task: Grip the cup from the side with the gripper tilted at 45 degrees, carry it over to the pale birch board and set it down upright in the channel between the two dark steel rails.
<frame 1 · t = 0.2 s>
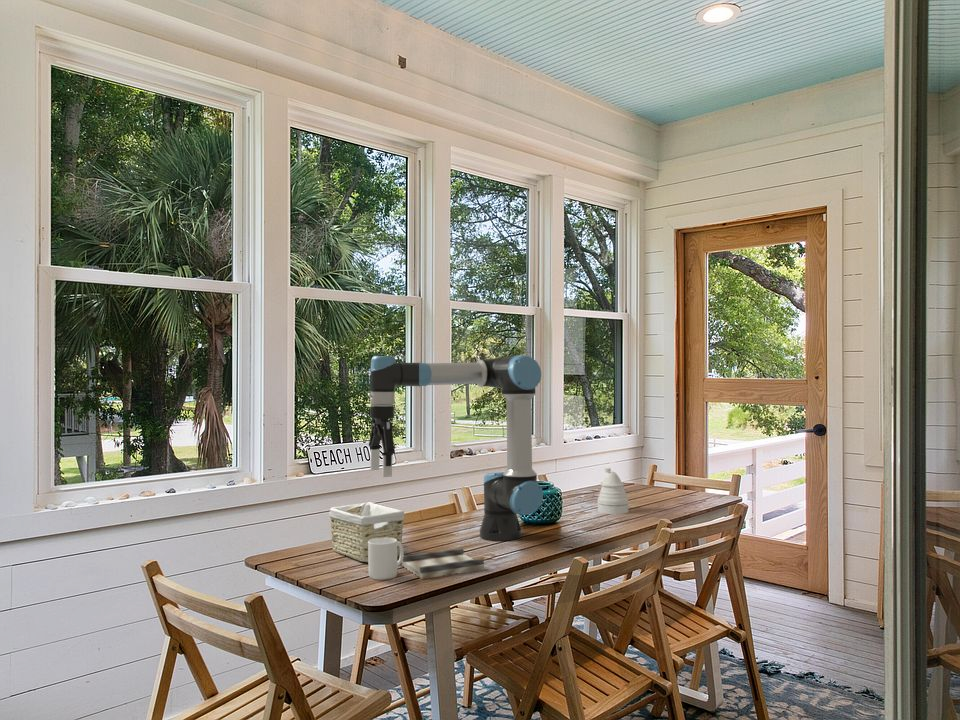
hand: (380, 473, 216), 28 cm above the table, tool pointing down, fingers open, 13 cm apart
storage basket: (366, 554, 227), on the table
honey pot: (613, 511, 295), on the table
cup: (387, 575, 202), on the table
rail board: (442, 567, 209), on the table
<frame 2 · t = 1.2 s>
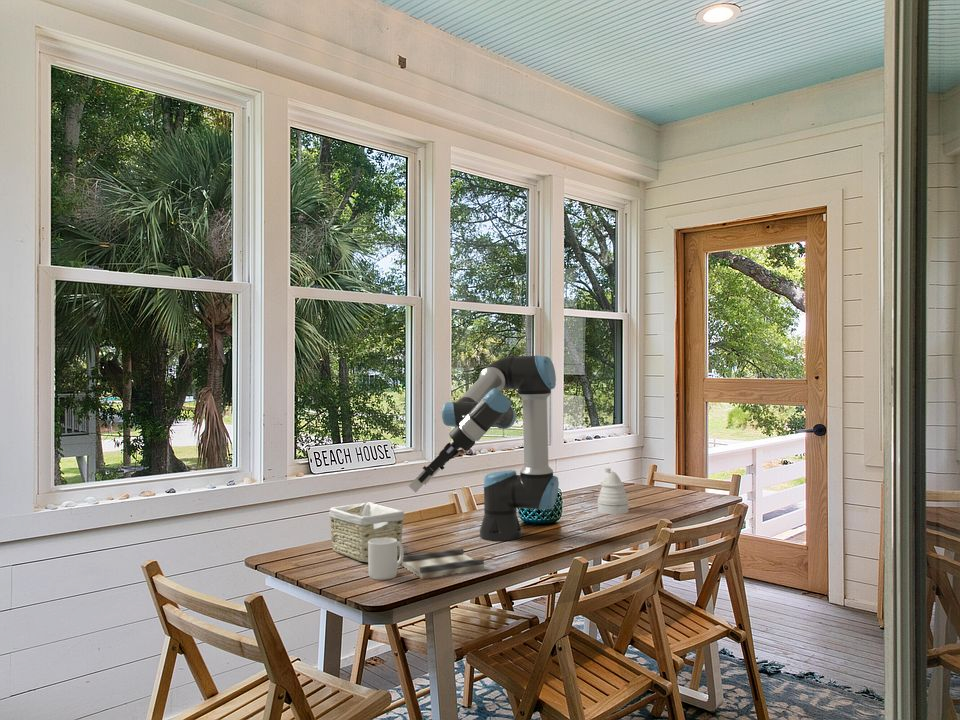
hand: (417, 485, 203), 26 cm above the table, tool tilted 45°, fingers open, 13 cm apart
nothing on the table moved.
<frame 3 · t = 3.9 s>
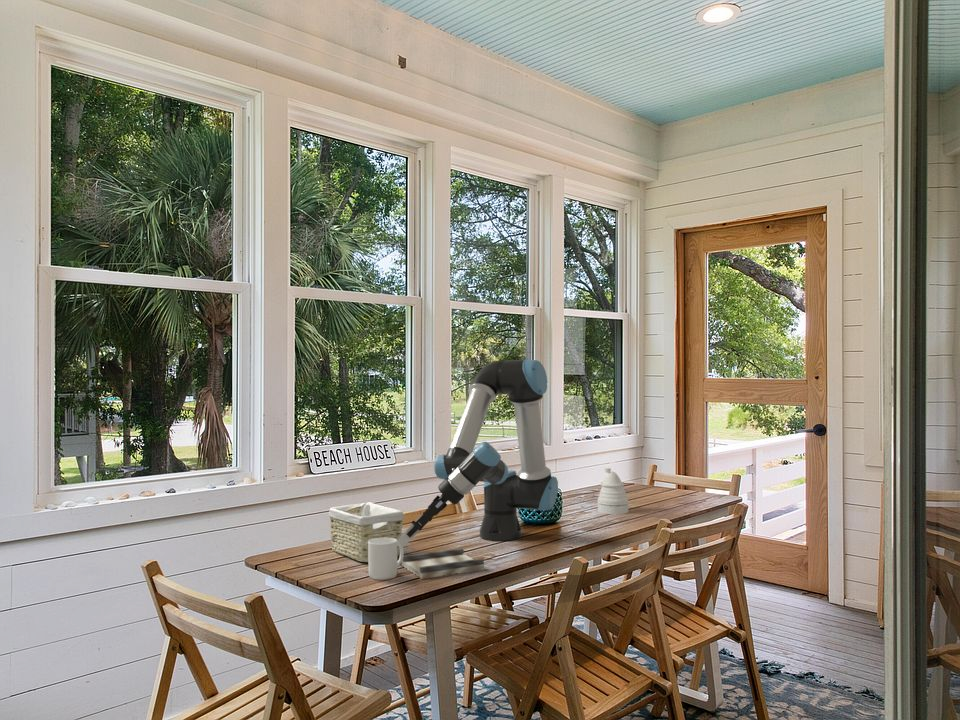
hand: (405, 538, 202), 11 cm above the table, tool tilted 45°, fingers open, 13 cm apart
nothing on the table moved.
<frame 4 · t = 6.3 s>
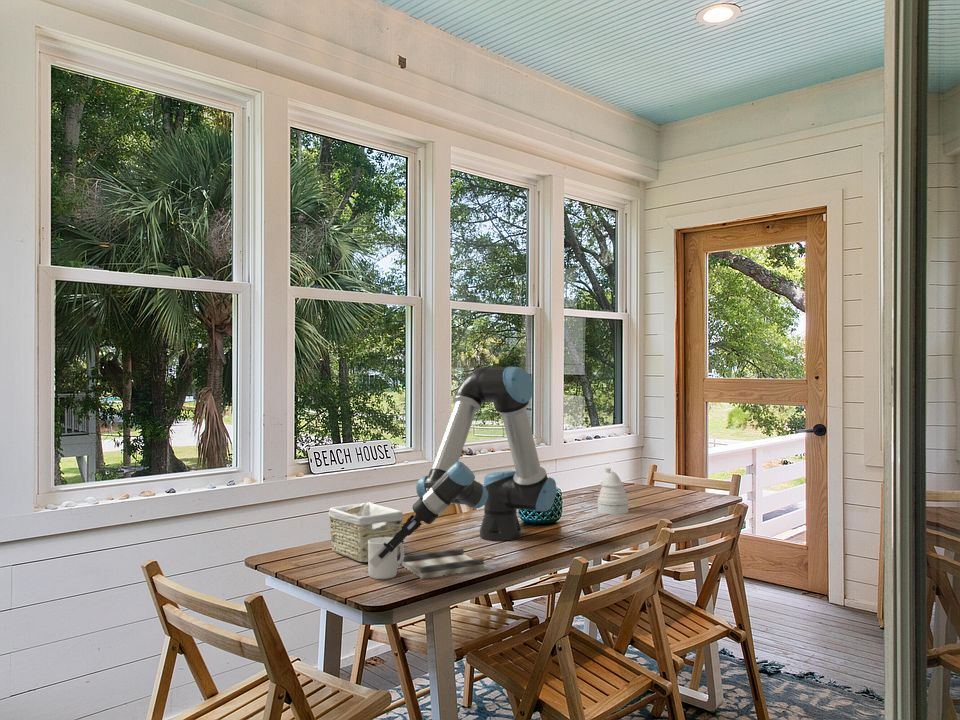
hand: (377, 559, 202), 4 cm above the table, tool tilted 45°, fingers closed on cup, 10 cm apart
cup: (388, 574, 203), on the table, touching gripper
everything else where it was.
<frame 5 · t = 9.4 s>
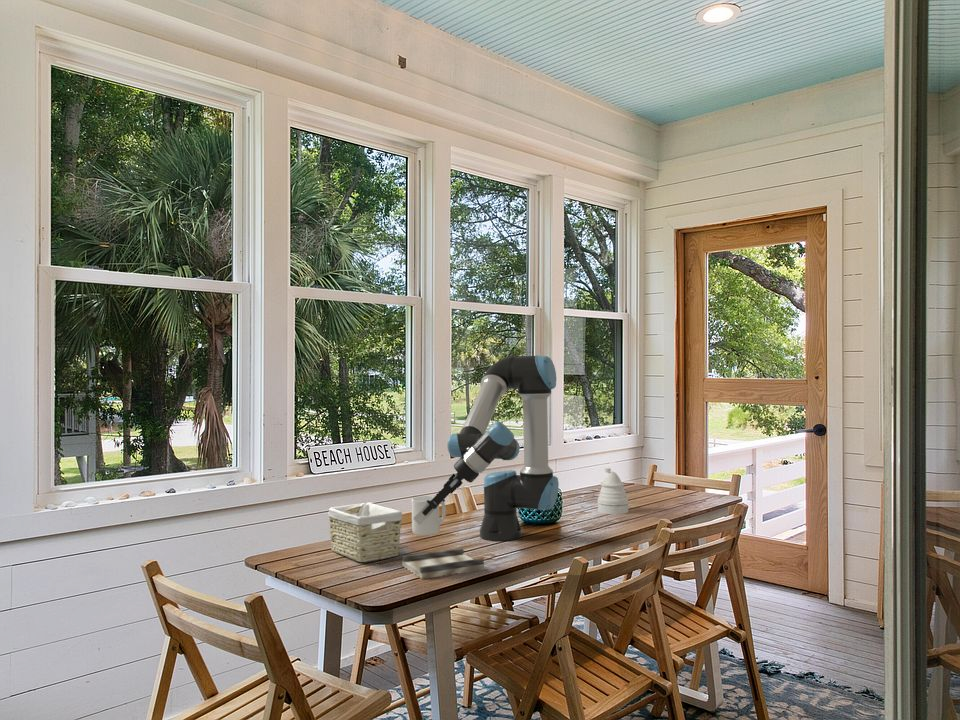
hand: (420, 517, 209), 15 cm above the table, tool tilted 45°, fingers closed on cup, 10 cm apart
cup: (430, 531, 209), point 11 cm above the table, touching gripper
everything else where it was.
when the fingers open (7 cm above the table, at t = 12.6 s): cup drops 2 cm, resting on rail board.
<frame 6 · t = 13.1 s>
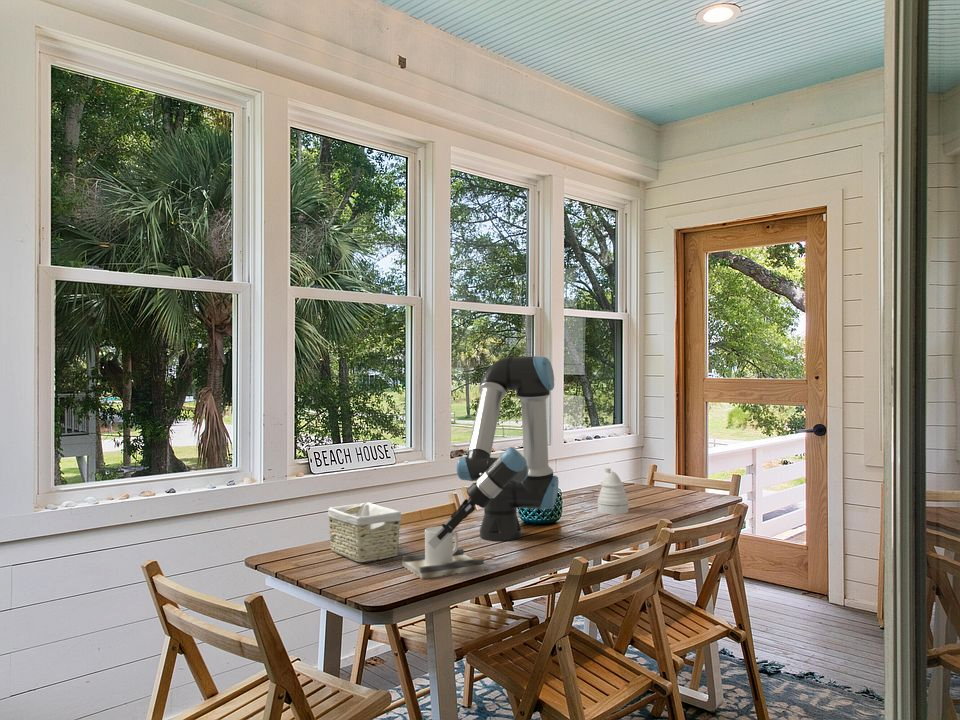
hand: (434, 540, 209), 8 cm above the table, tool tilted 45°, fingers open, 13 cm apart
cup: (443, 562, 210), point 1 cm above the table, touching rail board
everything else where it was.
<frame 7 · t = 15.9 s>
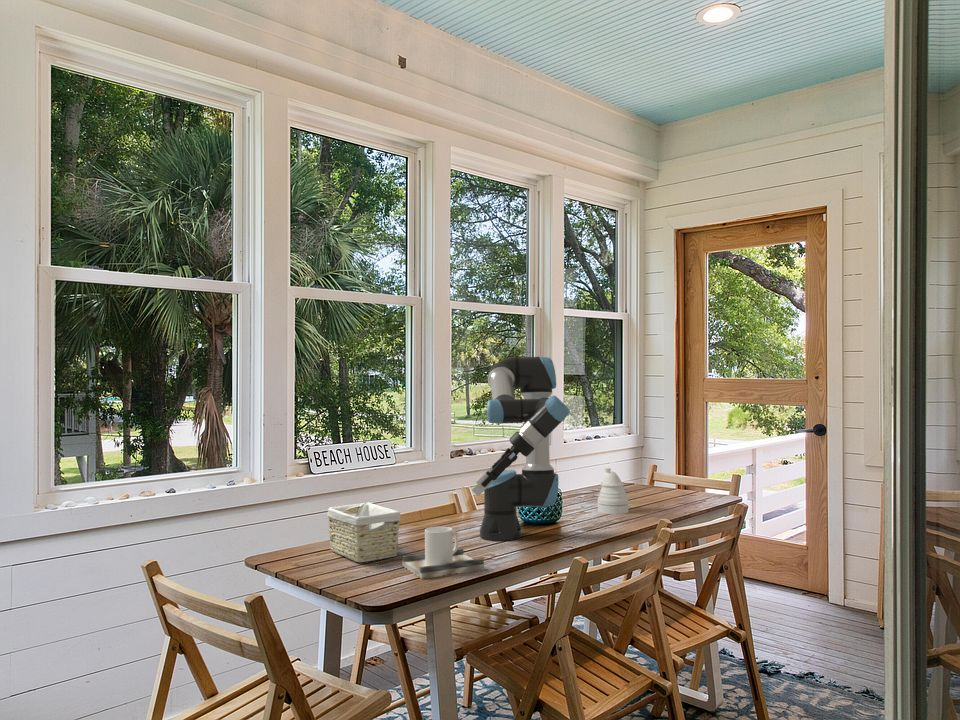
hand: (477, 489, 209), 24 cm above the table, tool tilted 45°, fingers open, 13 cm apart
nothing on the table moved.
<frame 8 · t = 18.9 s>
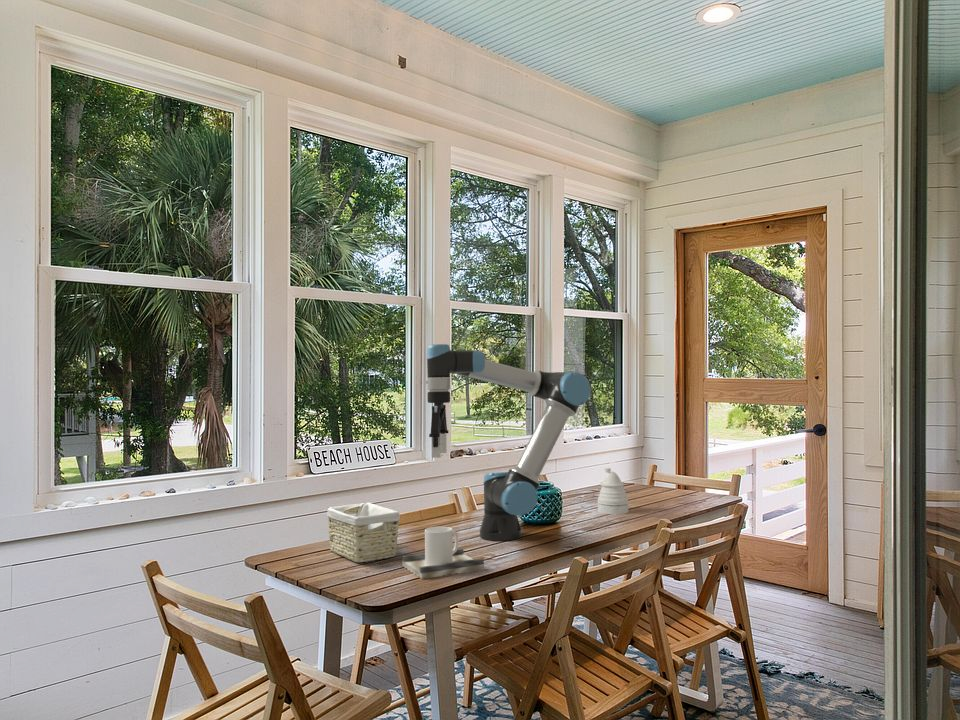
hand: (439, 455, 229), 32 cm above the table, tool pointing down, fingers open, 13 cm apart
at the end: cup inside the target area on the rail board (0.6 cm from its centre), point 1.3 cm above the rail board's base; cup tilted 0°; the gripper is holding nothing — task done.
